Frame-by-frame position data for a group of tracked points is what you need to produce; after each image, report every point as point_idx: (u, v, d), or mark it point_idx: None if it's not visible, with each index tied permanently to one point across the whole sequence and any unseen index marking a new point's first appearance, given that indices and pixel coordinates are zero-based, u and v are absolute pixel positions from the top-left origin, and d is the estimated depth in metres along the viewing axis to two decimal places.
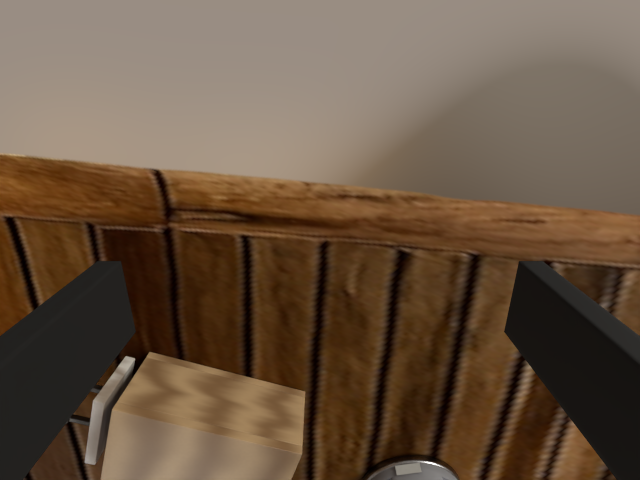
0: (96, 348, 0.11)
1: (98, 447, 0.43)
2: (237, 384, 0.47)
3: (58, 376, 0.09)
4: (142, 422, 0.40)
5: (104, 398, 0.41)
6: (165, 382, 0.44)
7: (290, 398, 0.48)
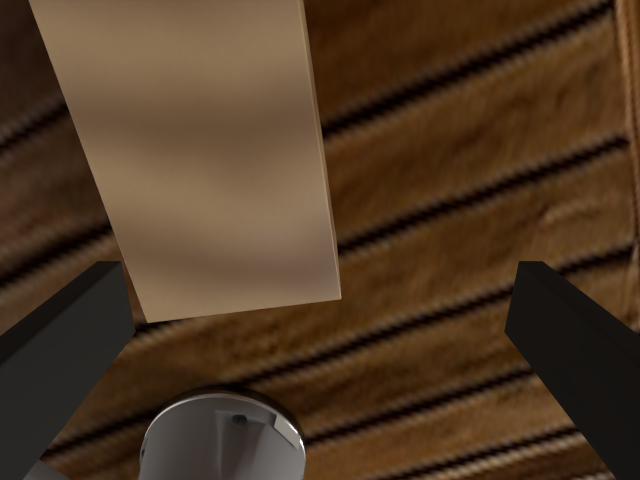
0: (96, 348, 0.11)
1: None
2: None
3: (58, 375, 0.09)
4: None
5: None
6: None
7: (333, 221, 0.27)
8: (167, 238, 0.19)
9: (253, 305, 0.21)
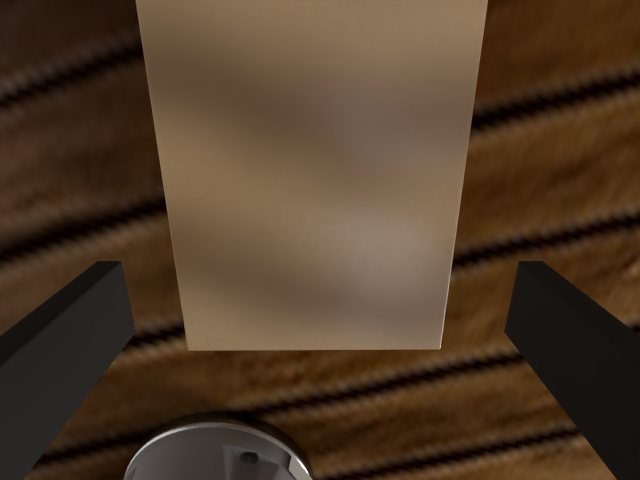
0: (96, 348, 0.11)
1: None
2: None
3: (59, 376, 0.09)
4: None
5: None
6: None
7: None
8: (239, 248, 0.15)
9: (330, 344, 0.16)
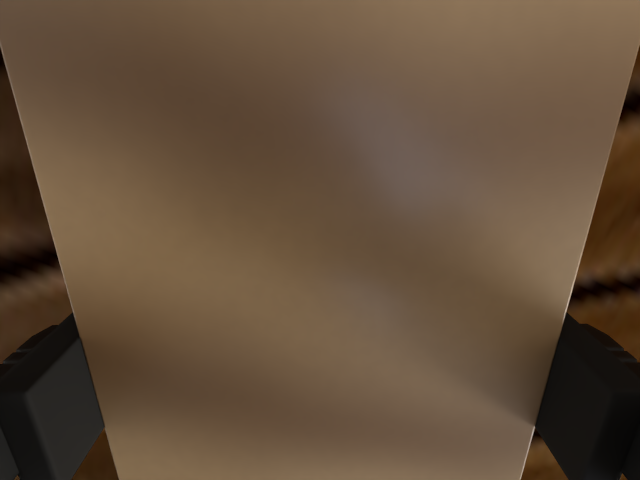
0: None
1: None
2: None
3: None
4: None
5: None
6: None
7: None
8: (195, 348, 0.09)
9: None
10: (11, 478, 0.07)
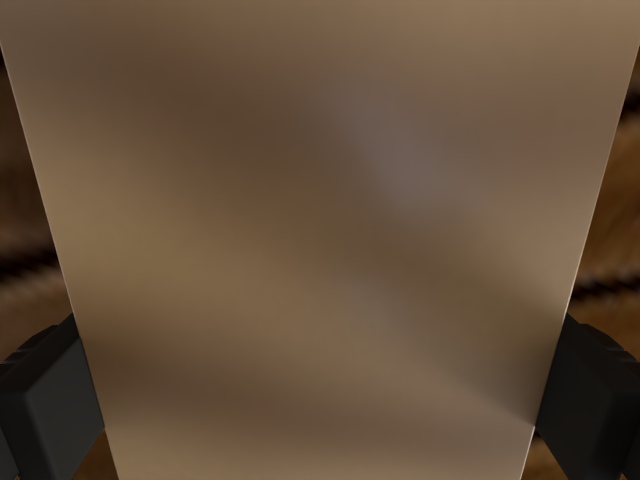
0: None
1: None
2: None
3: None
4: None
5: None
6: None
7: None
8: (195, 348, 0.09)
9: None
10: (11, 478, 0.07)
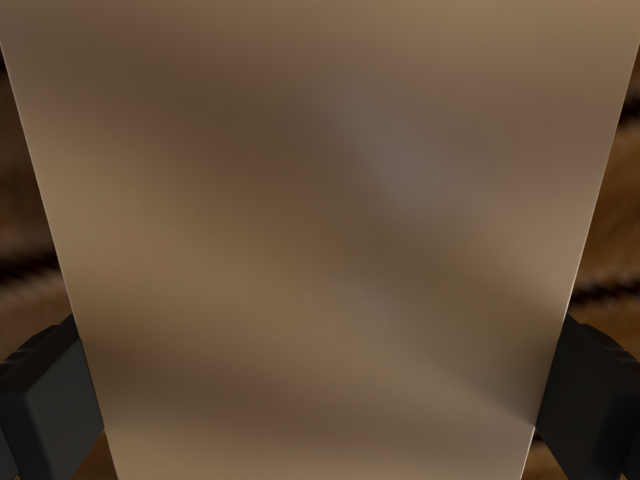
0: None
1: None
2: None
3: None
4: None
5: None
6: None
7: None
8: (195, 348, 0.09)
9: None
10: (11, 478, 0.07)
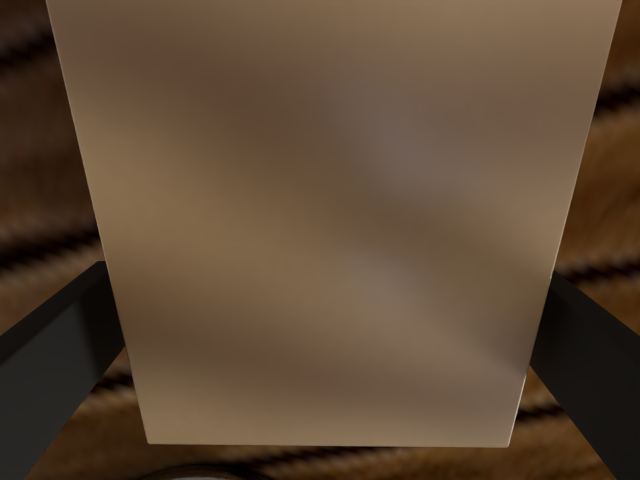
0: (96, 348, 0.11)
1: None
2: None
3: (59, 375, 0.09)
4: None
5: None
6: None
7: None
8: (217, 310, 0.10)
9: (349, 439, 0.11)
10: None
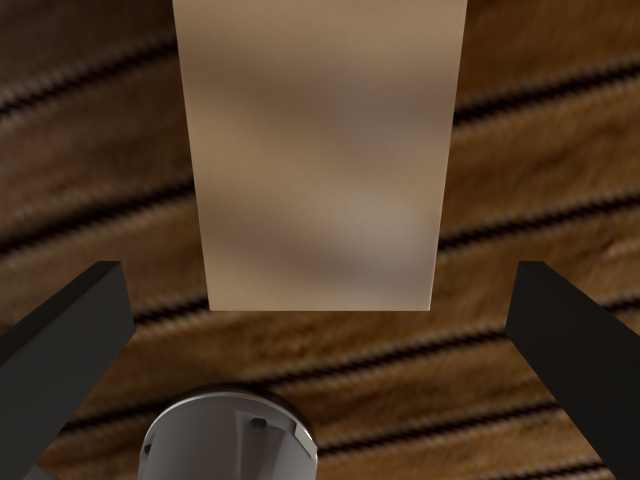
0: (96, 348, 0.11)
1: None
2: None
3: (59, 375, 0.09)
4: None
5: None
6: None
7: None
8: (256, 219, 0.17)
9: (333, 306, 0.19)
10: None
